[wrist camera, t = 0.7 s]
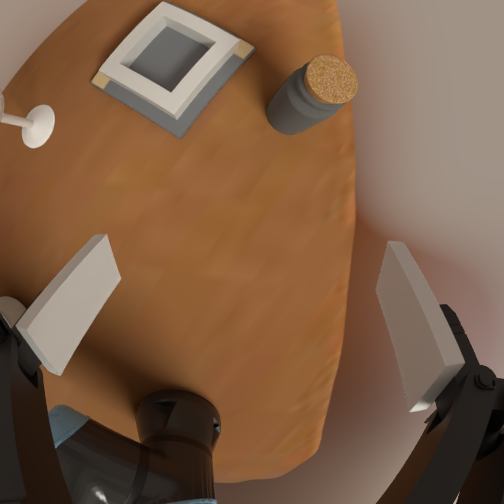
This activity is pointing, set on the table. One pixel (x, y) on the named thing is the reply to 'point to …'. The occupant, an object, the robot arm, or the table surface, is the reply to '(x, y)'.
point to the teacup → (11, 310)
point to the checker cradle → (172, 66)
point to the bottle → (312, 94)
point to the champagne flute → (31, 123)
